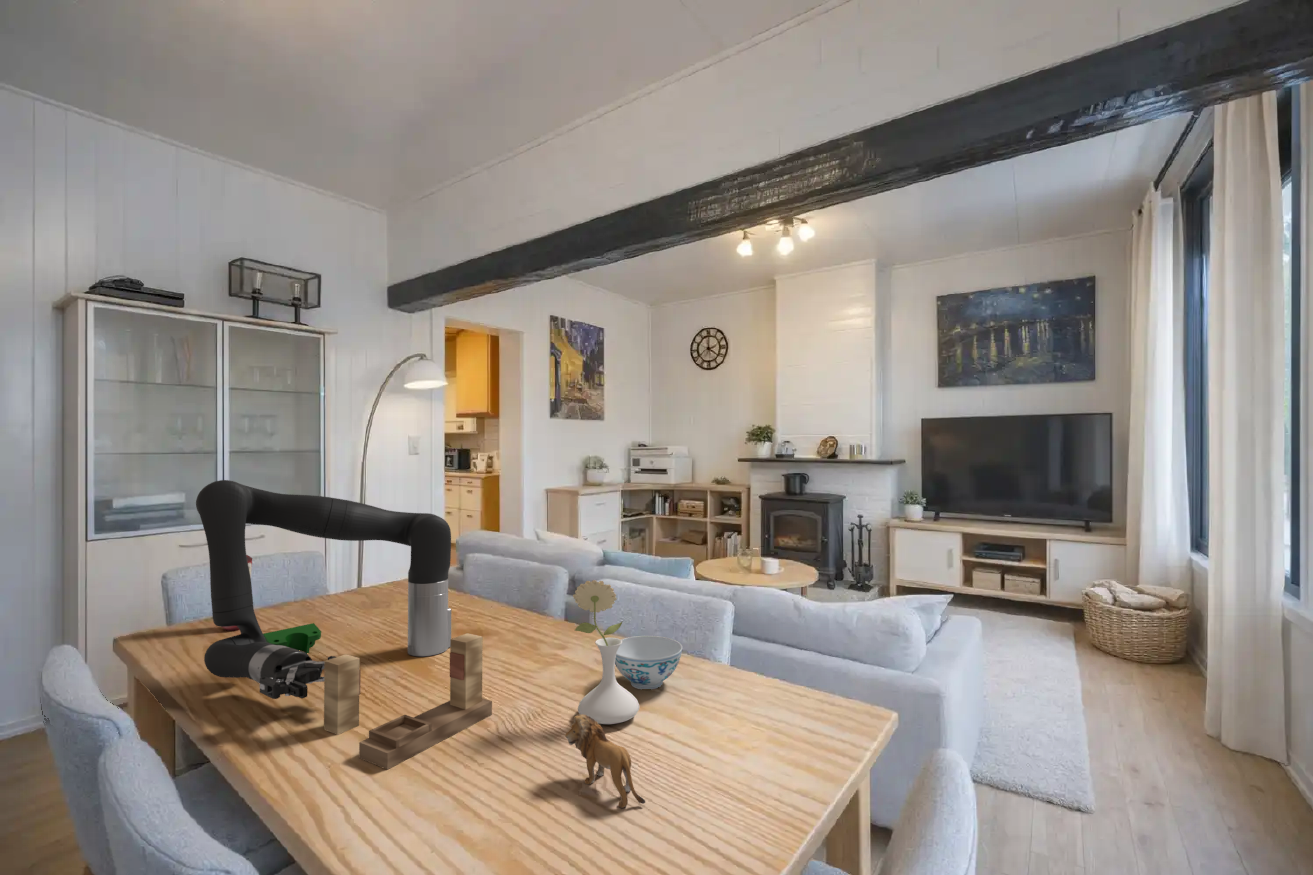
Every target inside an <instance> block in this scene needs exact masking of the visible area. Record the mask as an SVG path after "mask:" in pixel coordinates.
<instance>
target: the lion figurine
mask: <svg viewBox="0 0 1313 875" xmlns="http://www.w3.org/2000/svg"><path fill="white" fill-rule="evenodd" d="M573 719H574V721H573V724H572V725H571V727H570V729H569V730H568V731H567V732H566V733H565V734H564V737H565V738H566V740H567V741H568V744H569V745H570V746H572V745H574V746H575V748H576V749H577V750H579V752H580V754H581V756H582V757H583V758H584V759H586V760H585V761H586V762H585V763H586V768H587V773H588V777H586V778H585V779H584V784H585V785H591V784H593V783H594V782H595V780H596V779H595V775H596V776H597V775H598V777H602V776H604V775H605V769H606V770H610V771H609V772H610V775H611V779H612V782H613V784H614V786H615V788H616V790H617V791H618V793H619V795H620V797H621V799H619V801H618V806H619V808H620V809H622V808H625V807H627V805H628V804H629V802H628V794H627V793H629V792H630V791H631V794H632V795H633V796H634V798H635V800H636V801H637V802H638V803H639V804H645V803H646V800H645V799H644V798H643V797H642V796H640V795H639V794H638V793H637V792H636V789H635V787H634V782H633V779H632V772H631V768H632V758H631V755H630V753H629V752H628V750H627V749H626V748H625V747H624V746H621V745H618V744H615V743H614V742H612V741H611V740H609V739H608V738H607V737H606V733H605V729H604V728H603V727H602V726H601V725H602V724H598V722H597V721H595V720H594V719H592V718H591V717H590V716H587V715H583V714H582V715H580V714H578V715H576V716H573ZM596 763H597V765H598V768H597V770H596V771H595V766H596ZM622 773H623V775H624V776H623V777H624V779H625V785H623V781H622Z"/></svg>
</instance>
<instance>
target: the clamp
mask: <svg viewBox="0 0 1313 875" xmlns="http://www.w3.org/2000/svg"><path fill="white" fill-rule="evenodd" d="M263 635H264V637H265V640H266V642H267V643H271V644H274V645H282V646H286V647H289V648H293V649H296V650H300V651H303V652H305V653H309V654H310V649H311V648H310V647H312V648H313V647H314V646H315V644H316V641H319V640H320V639H322V638H321V637H322V630H320V628H319V627H318V626H317V625H316V624H315V622H313V623H308V624H303V625H299V626H294V627H290V628H285V629H284V628H283V629H279V630H275V631H274V630H273V631H269V632H265V633H263Z"/></svg>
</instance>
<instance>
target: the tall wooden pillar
mask: <svg viewBox="0 0 1313 875" xmlns="http://www.w3.org/2000/svg"><path fill="white" fill-rule="evenodd" d="M335 657H336V658H333V659H329V660H327V659H326V660H324V661H325V664H324V669H323V671H324V676H323V677H324V684H323V685H324V686H323V690H324V691H323V703H324V704H323V730H324V731H327V732H330V733H332V734H334V735H340V734H343V733H346V732H348V731H350V730H352V729H355V728H356V727H358V726H360V695H361V680H362V679H361V674H362V673H361V672H362V670H361V669H360V657H357V656H353V655H349V654H343V655H340V656H335Z"/></svg>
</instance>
